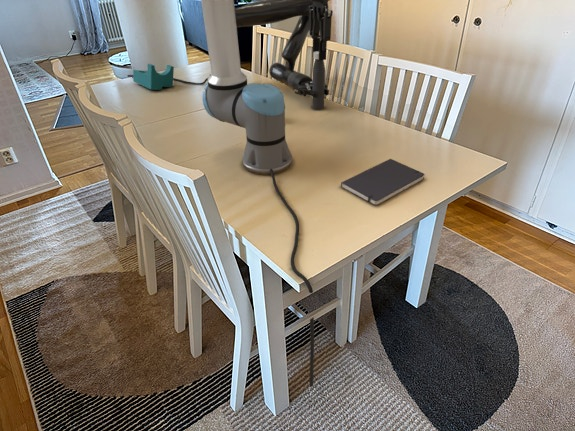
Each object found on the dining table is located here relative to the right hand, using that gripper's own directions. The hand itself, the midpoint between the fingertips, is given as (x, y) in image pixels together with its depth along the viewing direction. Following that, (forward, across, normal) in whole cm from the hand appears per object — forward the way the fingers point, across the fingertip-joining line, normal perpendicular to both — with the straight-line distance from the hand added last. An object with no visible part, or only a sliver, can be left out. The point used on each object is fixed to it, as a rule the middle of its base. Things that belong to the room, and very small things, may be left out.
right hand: (319, 58), depth 152 cm
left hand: (+13, -3, 0) cm, 13 cm away
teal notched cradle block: (+19, +62, +54) cm, 85 cm away
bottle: (+19, 0, 0) cm, 19 cm away
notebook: (+19, -60, +11) cm, 64 cm away
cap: (-2, 0, 0) cm, 2 cm away
